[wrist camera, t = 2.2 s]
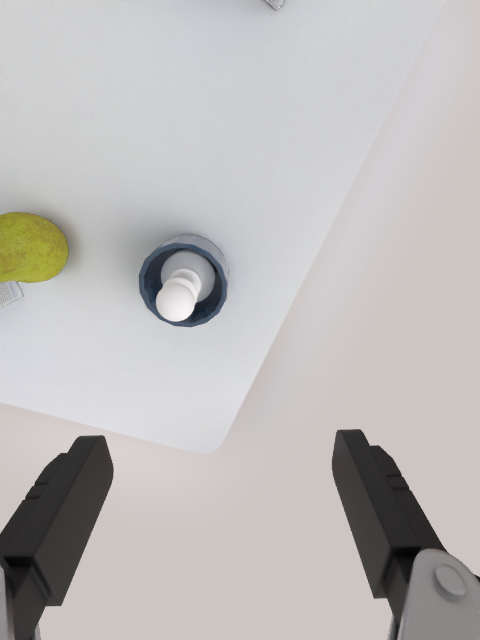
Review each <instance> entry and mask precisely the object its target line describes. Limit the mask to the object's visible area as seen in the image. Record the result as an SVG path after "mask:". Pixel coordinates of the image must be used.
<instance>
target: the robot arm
mask: <svg viewBox="0 0 480 640" xmlns="http://www.w3.org/2000/svg"><path fill="white" fill-rule="evenodd" d="M332 471H333V477H334V480H335V483H336V486H337V490H338V493H339V495H340V498H341V501H342V505H343V507H344V510H345V513H346V516H347V519H348V522H349V525H350V528H351V531H352V534H353V537H354V540H355V543H356V546H357V549H358V552H359V555H360V558H361V561H362V564H363V567H364V570H365V573H366V576H367V579H368V582H369V585H370V588H371V591H372V594H373V597H374V599H375V598H387V599H388V602H389V605H390V607H391V610H392V613H393V616H392V619H391V624H390V629H389V634H388V639H387V640H480V577H478V576H476V575H474V574H473V573H472V572H471V571H470V570H469V569H468V568H467V567H466V566H465V565H464V564H463V563H462V562H461V561H459V560H458V559H457V558H455V557H454V556H452V555H450V554H449V553H448V552H447V551H446V549H445V548H444V547H443V545H442V544H441V542H440V540H439V538H438V537H437V535H436V533H435V531H434V530H433V528H432V526H431V525H430V523H429V521H428V520H427V517H426V516H425V514H424V512H423V510H422V509H421V507H420V505H419V504H418V502H417V500H416V498H415V497H414V495H413V493H412V491H410V490H409V486H408V485H407V483H406V481H405V479H404V477H402V475H401V472H400V470H399V469H398V467H397V465H396V463H395V462H394V460H393V458H392V457H391V456H389V455H388V454H387V453H386V452H385V451H384V450H383V449H382V448H381V447H380V446H370V445H369V443H368V441H367V439H366V437H365V435H364V433H363V432H362V431H361V430H360V429H355V430H354V429H353V430H337V432H336V438H335V444H334V451H333V457H332ZM112 480H113V463H112V460H111V457H110V453H109V449H108V446H107V443H106V439H105V437H104V436H102V435H100V436H79V437H78V438H77V439H76V440H75V442H74V443H73V445H72V446H71V448H70V449H69V451H68V453H61V454H60V455H58V456H57V457H56V458H55V459H54V460H53V461H51V462H50V463H49V464H48V465H47V466H46V467H45V468H44V470H43V471H42V473H41V474H40V476H39V477H38V479H37V480H36V482H35V485H34V486H32V488H31V489H30V491H29V492H28V493H27V495H26V498H25V500H23V501H22V502H21V504H20V505H19V507H18V509H17V510H16V512H15V513H14V514H13V516H12V517H11V519H10V520H9V522H8V523H7V525H6V526H5V528H4V529H3V531H2V532H1V534H0V640H41V638H40V629H39V624H38V622H39V620H40V617H41V615H42V613H43V611H44V609H45V606H61V605H62V603H63V600H64V598H65V595H66V593H67V591H68V588H69V586H70V583H71V581H72V578H73V576H74V574H75V571H76V569H77V566H78V564H79V561H80V559H81V557H82V554H83V552H84V549H85V547H86V545H87V542H88V539H89V537H90V535H91V532H92V530H93V528H94V525H95V523H96V520H97V518H98V516H99V513H100V511H101V508H102V506H103V503H104V501H105V499H106V496H107V494H108V491H109V489H110V486H111V483H112Z"/></svg>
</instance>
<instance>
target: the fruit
mask: <svg viewBox="0 0 480 640" xmlns="http://www.w3.org/2000/svg"><path fill="white" fill-rule="evenodd" d="M68 252H69V249H68V243H67V240H66V238H65V236H64V234H63V233H62V232H61V230H60V229H59V228H58V227H57V226H56V225H54V224H53V223H52V222H50V221H48V220H47V219H44V218H42V217H40V216H37V215H34V214H30V213H22V212H11V213H6V214H2V215H0V283H1V282H8V281H18V282H26V283H33V282H41V281H46V280H49V279H51V278H53V277H54V276H56V275H57V274H58V273H59V272H60V271H61V270H62V269H63V267H64V266H65V264H66V262H67V259H68Z"/></svg>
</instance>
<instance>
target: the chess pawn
mask: <svg viewBox="0 0 480 640" xmlns="http://www.w3.org/2000/svg"><path fill="white" fill-rule="evenodd" d="M215 279H216V273H215V268H214V265H213V263H212V262H211V261H210V260H209V258H208V257H207V256H205V255H203V254H201V253H199V252H197V251H195V250H193V249H182V250H179V251H177V252H175V253H173V254H172V255H171V256H170V257H169V258H168V259H167V260H166V261H165V263H164V265H163V267H162V271H161V281H162V284H163V287H162V289H161V290H160V291H159V293H158V295H157V298H156V307H157V310H158V312H159V313H160V315H161V316H162V317H164V318H165V319H167V320H169V321H182V320H184V319H186V318H188V317H189V316H190V315H191V313H192V312H193V310H194V306H195V304H196V302H200V301H202V300H203V299H205V298H206V297H207V296H208V295H209V294H210V293H211V291H212V290H213V288H214V283H215Z"/></svg>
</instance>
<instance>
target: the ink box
mask: <svg viewBox="0 0 480 640" xmlns="http://www.w3.org/2000/svg"><path fill="white" fill-rule="evenodd" d="M266 1H267V2H268V3H269V4H270V5H271V6H272V7H273V8H274V9H275V10H278V9H279V8H280V7H281V5H282V4H283V2H284V1H285V0H266Z"/></svg>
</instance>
